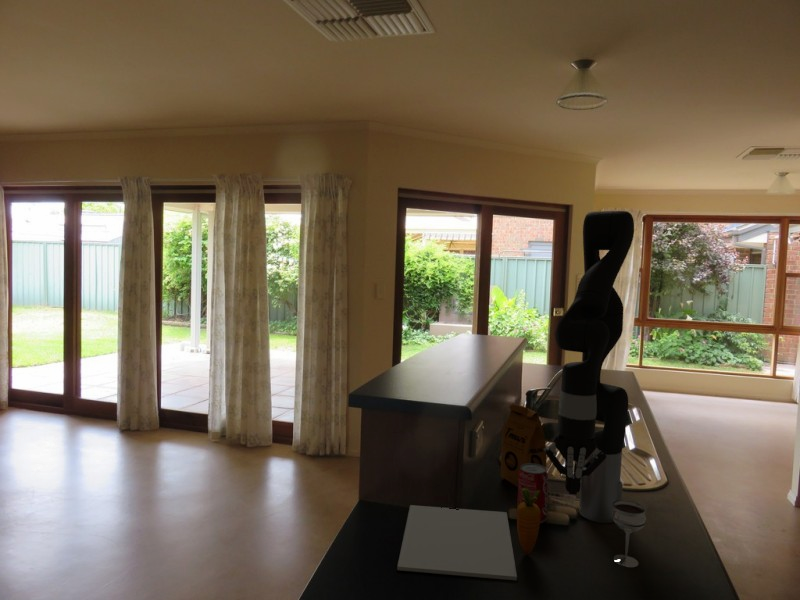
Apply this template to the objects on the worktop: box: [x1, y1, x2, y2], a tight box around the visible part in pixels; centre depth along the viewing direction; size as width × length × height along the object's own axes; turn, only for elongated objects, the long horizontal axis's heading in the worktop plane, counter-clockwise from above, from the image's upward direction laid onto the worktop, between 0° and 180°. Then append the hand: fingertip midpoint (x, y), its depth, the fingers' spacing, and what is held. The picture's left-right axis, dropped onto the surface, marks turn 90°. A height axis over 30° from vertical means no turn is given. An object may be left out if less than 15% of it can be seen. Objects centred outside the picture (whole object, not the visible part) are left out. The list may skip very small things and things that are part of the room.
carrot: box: [516, 488, 541, 556], centre depth 123 cm, size 5×5×15 cm
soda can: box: [516, 463, 549, 525], centre depth 139 cm, size 7×7×13 cm
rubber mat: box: [396, 504, 518, 581], centre depth 129 cm, size 24×28×1 cm
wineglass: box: [612, 499, 647, 568], centre depth 122 cm, size 7×7×12 cm
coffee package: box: [500, 403, 548, 488], centre depth 160 cm, size 10×12×22 cm
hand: (572, 492), depth 121 cm, fingers closed
